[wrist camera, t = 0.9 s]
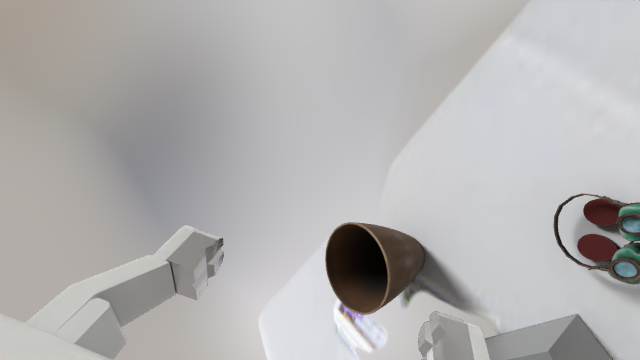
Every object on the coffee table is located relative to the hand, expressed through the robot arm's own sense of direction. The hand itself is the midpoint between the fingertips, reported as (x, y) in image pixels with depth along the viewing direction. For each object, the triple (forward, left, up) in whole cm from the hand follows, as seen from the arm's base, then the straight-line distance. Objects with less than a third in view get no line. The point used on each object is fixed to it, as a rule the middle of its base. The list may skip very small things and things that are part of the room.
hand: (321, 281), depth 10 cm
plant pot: (+26, -7, -43) cm, 51 cm away
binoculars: (-2, +3, -43) cm, 43 cm away
